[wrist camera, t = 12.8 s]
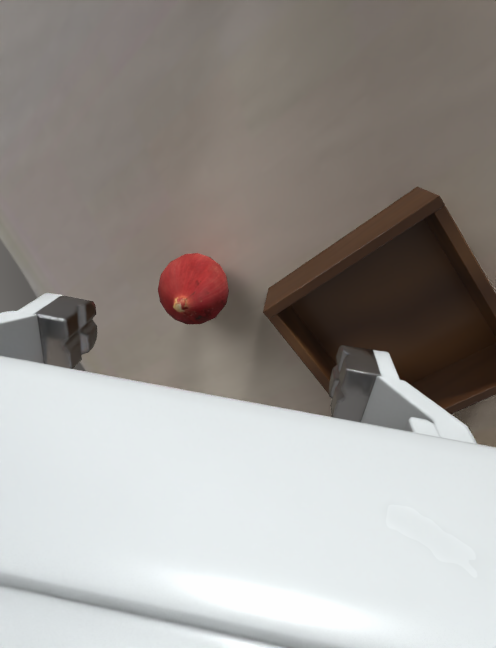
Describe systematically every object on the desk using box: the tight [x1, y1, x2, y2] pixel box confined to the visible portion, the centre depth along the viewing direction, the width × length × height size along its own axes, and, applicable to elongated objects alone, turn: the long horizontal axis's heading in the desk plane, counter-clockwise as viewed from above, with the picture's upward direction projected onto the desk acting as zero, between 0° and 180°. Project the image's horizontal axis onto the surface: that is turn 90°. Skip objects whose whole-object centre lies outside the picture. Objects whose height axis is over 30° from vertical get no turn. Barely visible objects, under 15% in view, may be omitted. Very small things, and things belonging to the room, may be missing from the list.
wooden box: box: [263, 187, 496, 414], centre depth 32 cm, size 17×15×5 cm
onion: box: [158, 253, 229, 324], centre depth 32 cm, size 6×6×8 cm
